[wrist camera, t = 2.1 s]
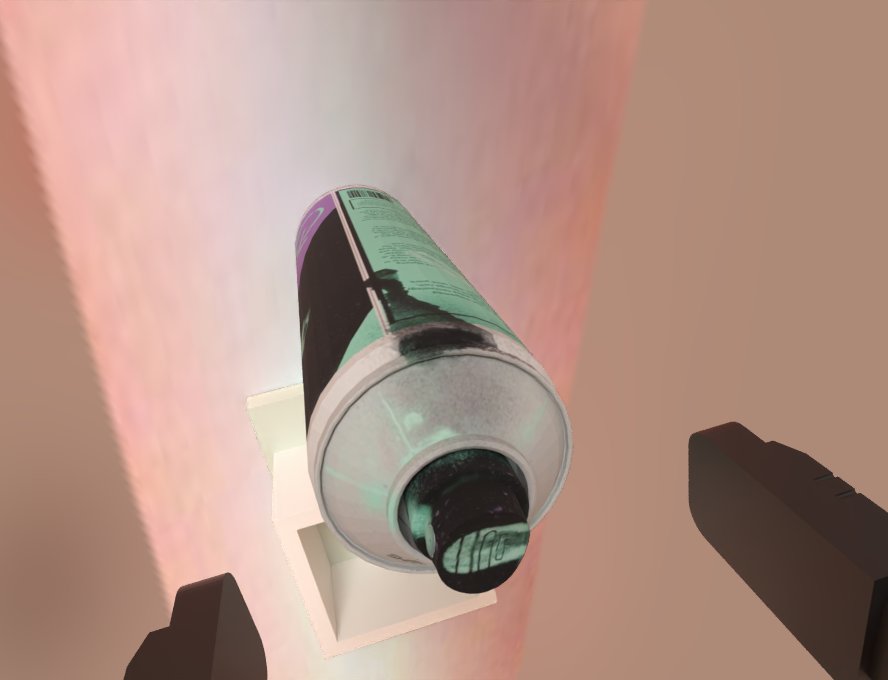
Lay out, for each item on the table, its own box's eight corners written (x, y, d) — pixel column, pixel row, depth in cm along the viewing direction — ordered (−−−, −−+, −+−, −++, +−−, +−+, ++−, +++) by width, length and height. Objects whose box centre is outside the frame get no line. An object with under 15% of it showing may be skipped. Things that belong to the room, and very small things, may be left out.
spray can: (271, 219, 26) (242, 526, 9) (383, 162, 27) (583, 346, 9) (332, 322, 29) (407, 723, 11) (435, 269, 29) (672, 582, 11)
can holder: (247, 397, 29) (239, 472, 24) (439, 346, 31) (472, 406, 25) (322, 601, 35) (328, 699, 30) (479, 551, 37) (513, 636, 31)
